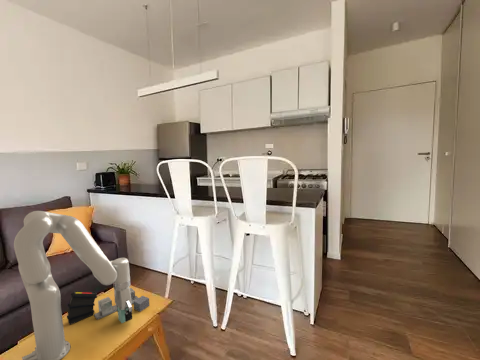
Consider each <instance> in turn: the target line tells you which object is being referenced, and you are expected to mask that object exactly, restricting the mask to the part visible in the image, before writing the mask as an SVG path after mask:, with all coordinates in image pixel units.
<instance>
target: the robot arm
mask: <svg viewBox="0 0 480 360" xmlns="http://www.w3.org/2000/svg"><path fill="white" fill-rule="evenodd" d="M49 233H50V234H59V235H61V237H63V239H64V240H65V242H66V243H67V244H68V246H69V247H70V248H71V249H72V251H73V252H74V254H75V255H76V256H77V257H78V258H79V259H80V261H81V262H82V263H84V265H86V266H87V268H89V270H90V271H91V272H92V276H93V277H94V278H95V279H96V280H97V281H98V282H99V283H100V284H101V285H103V286H110V285H112V284H113V291H114V292H113V293H114V304H115V305H117V307H119V308H120V309H121V310H123V309H124V310H125V313H126V314H125V321H126V323H127V322H129V321H131V320H132V319H133V306H132V305H133V304H132V302H131V293H130V288H131V276H130V273H131V271H130V263H129V259H128V258H126V257H119V258H116V259H114V260H113V259H112V260H109V259H108V257H107V255H105V253H104V252H103V251H102V248H100V246H99V245H98V243H97V241H95V239H94V238H93V236H92V235H91V234H90V232H89V231H88V230H87V228H86V227H85V225H84V223H83V222H81V220H79V219H78V218H76V217H74V216H71V215H67V214H62V213H61V214H60V213H55V212H49V211H43V210H34V211H30V212H29V213H28V214H26V215H25V216H24V219H23V227H21V228H20V230H19V231H18V232H17V234H16V235H15V238H14V241H13V249H14V253H15V257H16V260H17V263H18V271H19V275H20V277H21V280H22V283H23V287H24V288H25V291H26V293H27V297H28V298H27V299H28V300H29V304H30V305H29V306H30V311H31V313H30V314H31V319H32V327H33V334H34V340H35V341H34V342H35V347H34V350H32V352H30V353H29V354H27V355H26V354H25V355H24V356H22V357H21V358H22V359H21V360H62V359H63V358H64V357H66V356H67V354H68V353H69V351H71V343H70V342H69V341H67V340H66V338H65V337H66V336H65V330H64V329H65V328H64V321H63V315H62V314H63V313H62V305H61V304H62V303H61V302H62V300H61V299H62V297H61V291H60V288H59V286H58V284H57V283H56V282H55V280H54V278H53V275H52V272H51V270H52V268H51V263H50V261H49V259H48V258H47V257H48V256H47V253H46V251H45V247H44V243H43V242H44V240H45V238H46V237H47V235H49ZM126 306H127V307H126ZM127 308H128V310H126V309H127ZM116 312H118V308H117V311H116Z"/></svg>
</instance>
